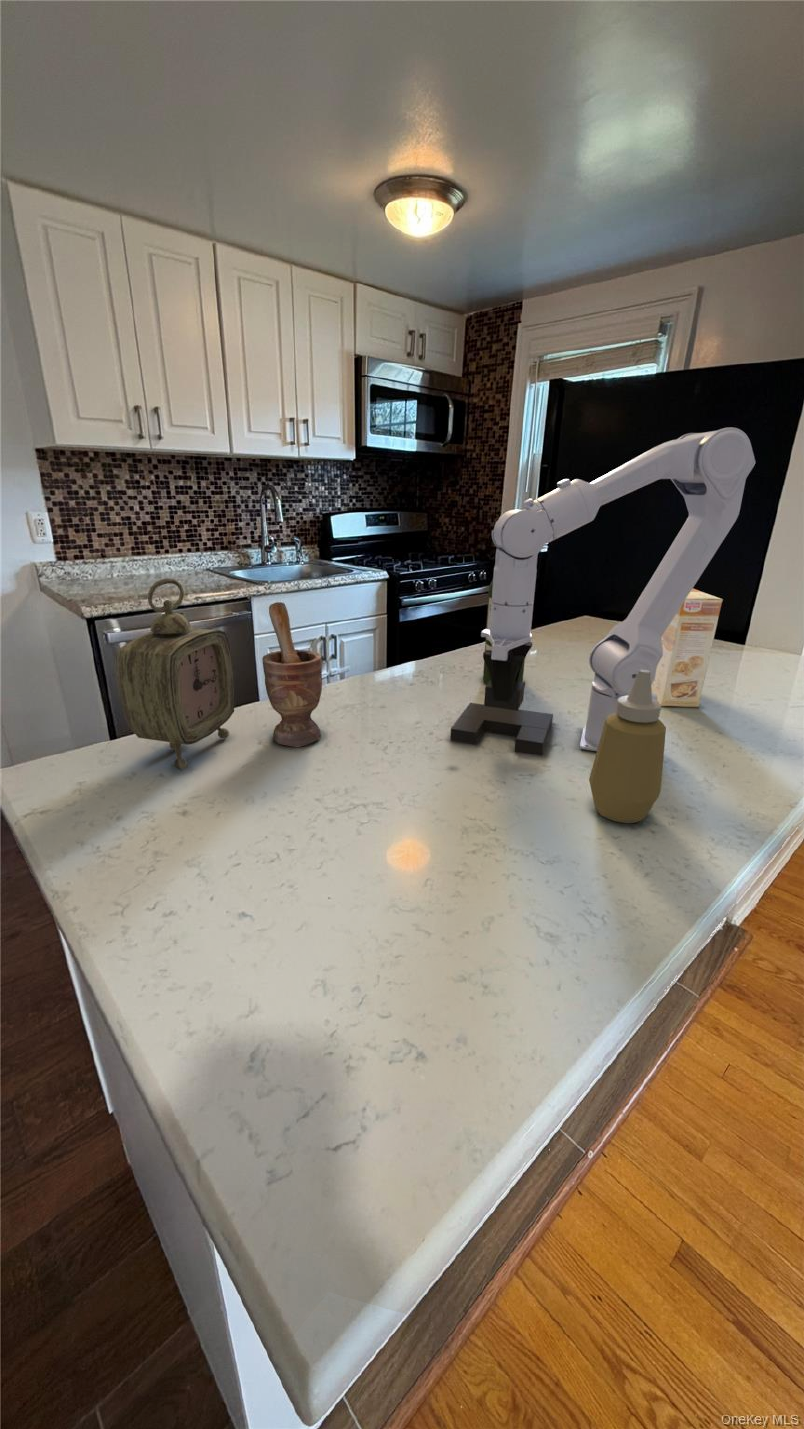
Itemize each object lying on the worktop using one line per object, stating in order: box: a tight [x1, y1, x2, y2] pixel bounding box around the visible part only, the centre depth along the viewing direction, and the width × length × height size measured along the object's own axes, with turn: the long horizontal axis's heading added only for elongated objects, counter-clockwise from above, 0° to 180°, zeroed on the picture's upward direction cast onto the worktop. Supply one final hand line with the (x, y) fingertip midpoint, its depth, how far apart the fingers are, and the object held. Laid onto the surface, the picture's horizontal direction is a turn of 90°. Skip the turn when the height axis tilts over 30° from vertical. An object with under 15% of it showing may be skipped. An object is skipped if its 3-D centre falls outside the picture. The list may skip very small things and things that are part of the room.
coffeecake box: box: [651, 587, 724, 708], centre depth 105 cm, size 15×7×20 cm, turn 179°
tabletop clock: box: [114, 578, 236, 771], centre depth 79 cm, size 14×9×25 cm, turn 164°
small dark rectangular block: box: [483, 680, 526, 711], centre depth 83 cm, size 5×4×3 cm
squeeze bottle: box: [588, 670, 667, 824], centre depth 66 cm, size 8×8×18 cm
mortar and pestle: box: [261, 601, 323, 749], centre depth 86 cm, size 12×9×20 cm
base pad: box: [449, 702, 554, 756], centre depth 90 cm, size 14×12×2 cm
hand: (504, 694), depth 83 cm, fingers closed on small dark rectangular block, 4 cm apart
